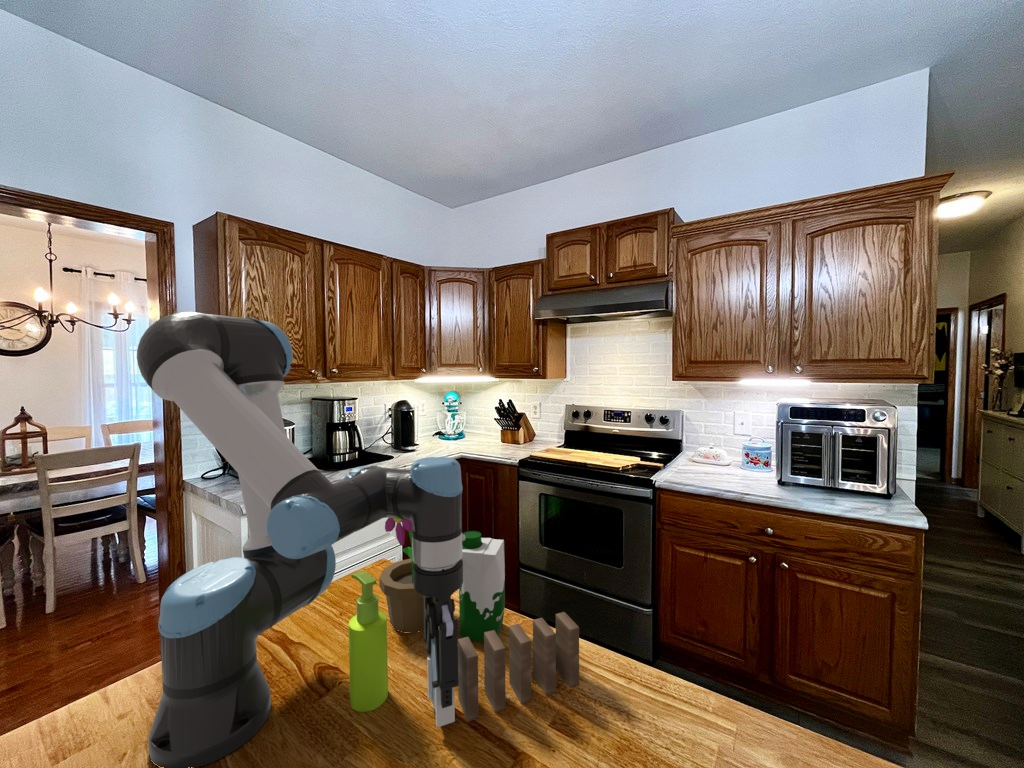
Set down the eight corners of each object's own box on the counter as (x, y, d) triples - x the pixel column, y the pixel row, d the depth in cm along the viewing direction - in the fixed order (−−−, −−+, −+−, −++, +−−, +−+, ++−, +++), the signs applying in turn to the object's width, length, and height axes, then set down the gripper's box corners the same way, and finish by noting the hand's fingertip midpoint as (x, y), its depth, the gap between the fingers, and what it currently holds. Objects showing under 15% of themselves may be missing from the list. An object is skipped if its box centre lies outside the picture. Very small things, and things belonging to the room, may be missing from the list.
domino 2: (467, 722, 65) (466, 658, 65) (458, 698, 70) (457, 639, 70) (478, 718, 66) (477, 655, 66) (468, 695, 71) (468, 636, 70)
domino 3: (494, 712, 67) (494, 650, 67) (484, 690, 72) (484, 632, 71) (505, 709, 68) (505, 647, 67) (494, 687, 72) (494, 629, 72)
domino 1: (439, 724, 64) (438, 658, 63) (432, 700, 68) (431, 639, 68) (451, 720, 64) (450, 655, 64) (443, 697, 69) (442, 636, 68)
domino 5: (546, 695, 71) (545, 636, 70) (533, 675, 75) (532, 619, 75) (555, 692, 71) (555, 633, 71) (542, 672, 76) (542, 617, 75)
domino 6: (569, 687, 72) (569, 629, 72) (555, 668, 77) (555, 614, 77) (579, 684, 73) (579, 627, 73) (564, 665, 78) (564, 611, 77)
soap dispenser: (374, 676, 75) (372, 564, 74) (394, 697, 70) (392, 578, 70) (341, 694, 71) (339, 575, 70) (360, 718, 66) (357, 591, 65)
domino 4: (521, 704, 69) (520, 643, 68) (509, 683, 73) (509, 626, 73) (531, 700, 70) (531, 640, 69) (518, 680, 74) (518, 623, 74)
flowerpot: (367, 620, 92) (364, 482, 91) (422, 593, 103) (420, 469, 101) (405, 649, 82) (402, 495, 81) (461, 617, 93) (460, 480, 92)
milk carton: (467, 616, 93) (466, 525, 92) (508, 621, 91) (507, 528, 91) (454, 642, 84) (453, 542, 84) (499, 647, 83) (498, 545, 82)
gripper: (480, 582, 58) (482, 747, 59) (447, 535, 75) (449, 664, 76) (425, 594, 56) (428, 767, 56) (404, 542, 72) (406, 677, 73)
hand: (440, 708), depth 66 cm, fingers closed on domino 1, 5 cm apart
